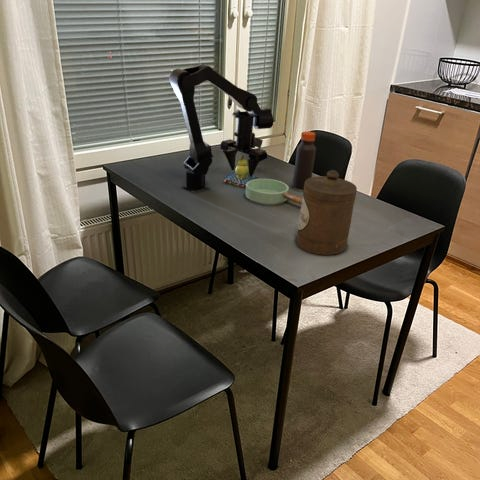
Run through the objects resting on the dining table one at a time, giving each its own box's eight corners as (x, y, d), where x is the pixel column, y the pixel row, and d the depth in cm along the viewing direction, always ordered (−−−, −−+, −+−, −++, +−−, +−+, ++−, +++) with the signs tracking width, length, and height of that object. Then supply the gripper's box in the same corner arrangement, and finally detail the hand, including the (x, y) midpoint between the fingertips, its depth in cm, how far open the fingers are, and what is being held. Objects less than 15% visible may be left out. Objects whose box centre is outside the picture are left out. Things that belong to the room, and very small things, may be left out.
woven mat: (246, 189, 180) (247, 184, 179) (222, 183, 184) (222, 177, 183) (259, 181, 188) (260, 176, 187) (235, 175, 192) (236, 170, 191)
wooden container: (303, 229, 154) (314, 159, 141) (350, 239, 150) (365, 168, 138) (290, 248, 143) (300, 174, 130) (340, 260, 139) (355, 184, 126)
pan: (268, 208, 166) (270, 197, 164) (236, 195, 174) (237, 184, 172) (295, 198, 176) (297, 187, 173) (264, 186, 184) (265, 175, 181)
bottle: (301, 192, 181) (308, 136, 170) (288, 186, 185) (295, 131, 174) (313, 189, 185) (322, 134, 173) (300, 183, 189) (308, 129, 178)
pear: (241, 180, 182) (243, 158, 177) (232, 176, 185) (233, 154, 180) (250, 177, 185) (252, 155, 180) (241, 174, 188) (242, 152, 183)
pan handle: (309, 208, 163) (310, 203, 162) (281, 198, 169) (282, 192, 168) (313, 207, 164) (314, 201, 163) (285, 196, 170) (285, 191, 169)
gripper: (278, 132, 175) (274, 175, 184) (240, 121, 185) (238, 162, 194) (258, 137, 168) (254, 181, 177) (219, 125, 178) (218, 168, 187)
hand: (241, 173), depth 184 cm, fingers open, 9 cm apart
